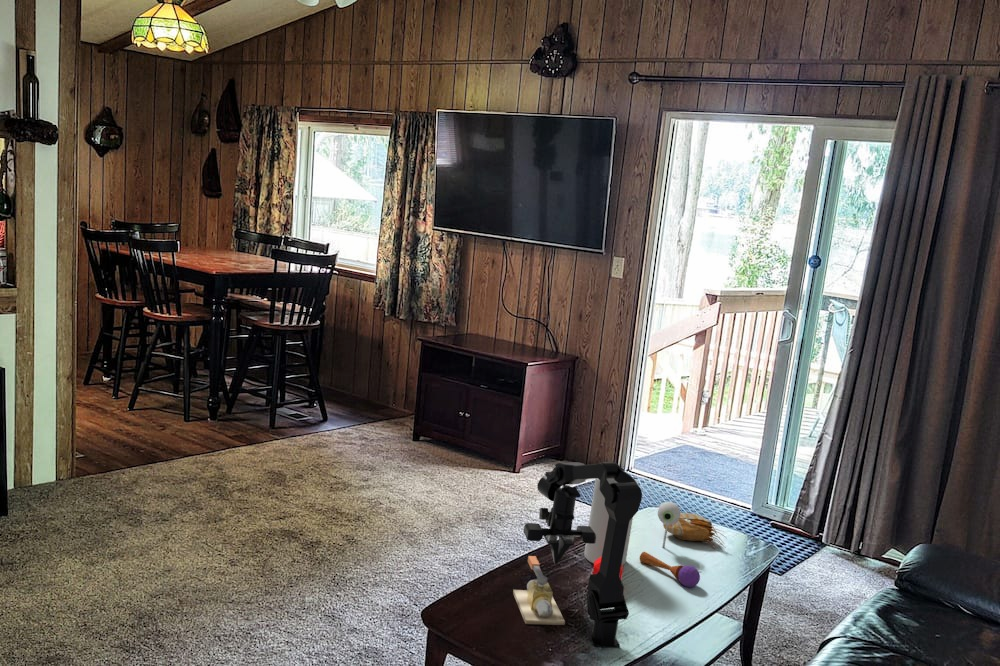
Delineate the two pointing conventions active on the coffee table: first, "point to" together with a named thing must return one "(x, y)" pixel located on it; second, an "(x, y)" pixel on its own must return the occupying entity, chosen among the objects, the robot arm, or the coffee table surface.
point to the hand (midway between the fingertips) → (555, 563)
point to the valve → (540, 598)
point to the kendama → (674, 570)
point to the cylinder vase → (601, 525)
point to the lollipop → (668, 515)
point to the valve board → (531, 615)
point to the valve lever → (537, 569)
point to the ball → (597, 567)
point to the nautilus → (693, 529)
